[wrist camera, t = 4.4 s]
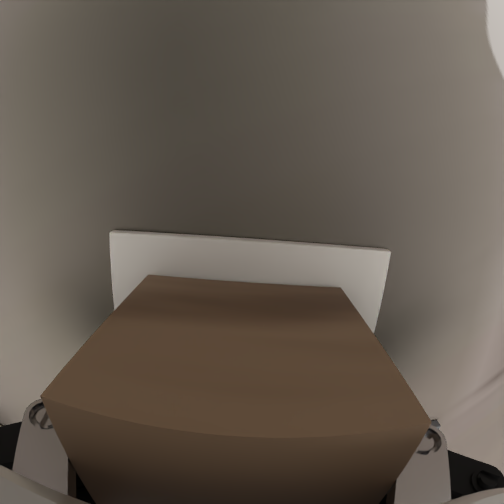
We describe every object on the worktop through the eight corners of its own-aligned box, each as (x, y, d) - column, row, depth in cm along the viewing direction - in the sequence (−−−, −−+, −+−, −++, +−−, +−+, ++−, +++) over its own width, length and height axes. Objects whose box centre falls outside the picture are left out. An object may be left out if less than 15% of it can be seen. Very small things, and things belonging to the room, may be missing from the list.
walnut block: (148, 274, 9) (39, 396, 3) (340, 287, 9) (431, 422, 4) (161, 414, 11) (121, 538, 5) (310, 424, 11) (335, 552, 5)
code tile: (114, 230, 10) (108, 232, 9) (385, 248, 10) (391, 252, 9) (138, 427, 12) (135, 434, 11) (335, 440, 12) (337, 447, 11)
